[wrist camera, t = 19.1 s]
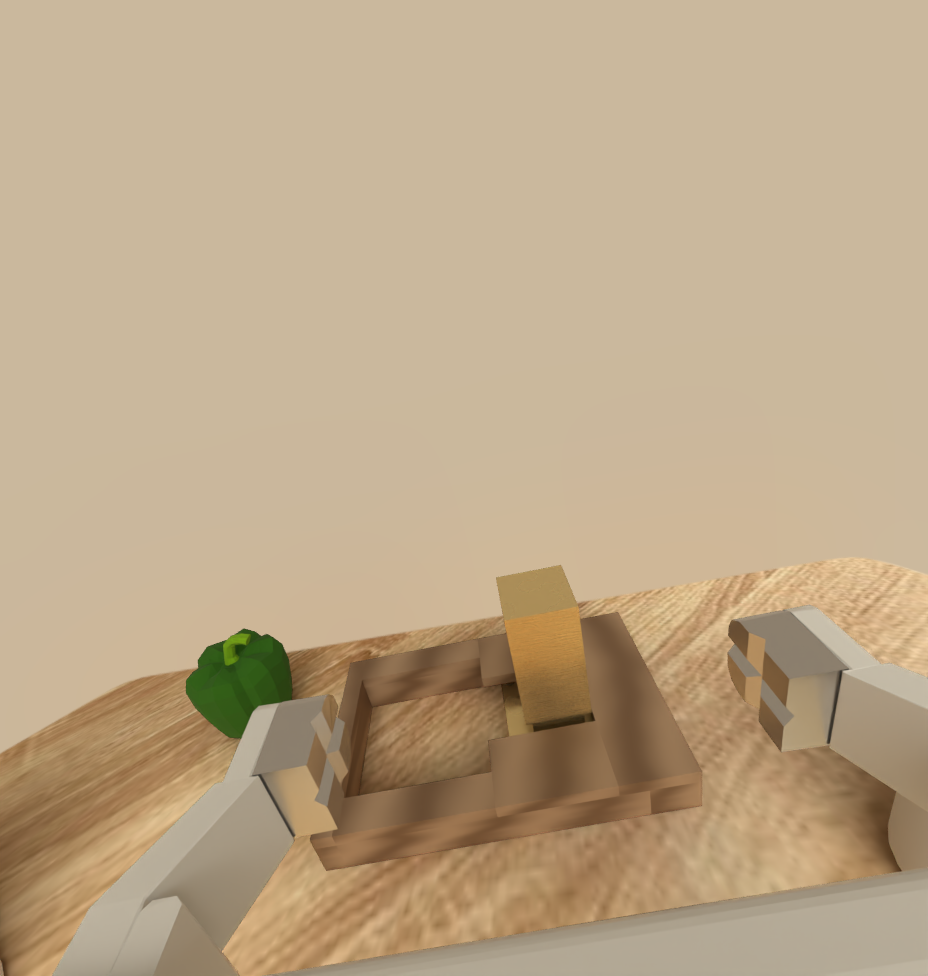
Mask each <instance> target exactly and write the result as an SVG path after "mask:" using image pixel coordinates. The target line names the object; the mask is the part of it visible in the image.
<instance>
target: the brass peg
mask: <svg viewBox="0 0 928 976" xmlns="http://www.w3.org/2000/svg"><path fill="white" fill-rule="evenodd" d="M496 580H497V586H498V591H499V596H500V601H501V607H502V612H503V618H504V623H505V628H506V633H507V637H508V642H509V647H510V652H511V656H512V661H513V666H514V671H515V676H516V680H517V682H513V683H508V684H503V685H501V686H502V692H503V699H504V706H505V712H506V719H507V726H508V732H509V736H515V735H520V734H526V733H531V732H537V731H542V730H548V729H553V728H559V727H564V726H570V725H575V724H581V723H586V722H592V721H594V720H593V718H592V715H591V713H592V710H591V702H590V694H589V686H588V679H587V671H586V663H585V655H584V647H583V639H582V632H581V624H580V616H579V608H578V605H577V602H576V600H575V598H574V595H573V593H572V590H571V588H570V585H569V583H568V581H567V578H566V576H565V573H564V571H563V569H562V567H561V565H559V566H554V567H548V568H543V569H538V570H533V571H528V572H523V573H518V574H512V575H508V576H502V577H497V578H496Z"/></svg>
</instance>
